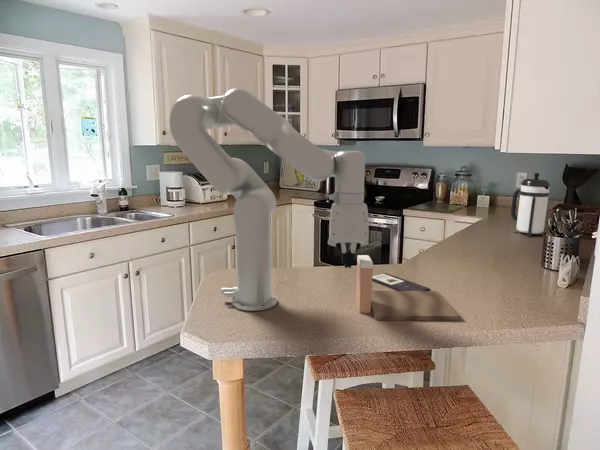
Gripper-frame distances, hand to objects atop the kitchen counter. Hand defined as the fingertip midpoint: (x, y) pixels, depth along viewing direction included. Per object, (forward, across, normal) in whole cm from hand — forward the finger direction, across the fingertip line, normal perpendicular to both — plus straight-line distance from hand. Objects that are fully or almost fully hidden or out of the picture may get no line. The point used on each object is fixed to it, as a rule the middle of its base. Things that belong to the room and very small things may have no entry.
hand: (347, 266), depth 115 cm
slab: (+12, +4, 0) cm, 13 cm away
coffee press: (+13, +100, +94) cm, 138 cm away
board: (+12, +18, +1) cm, 21 cm away
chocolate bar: (+13, +19, +19) cm, 29 cm away
